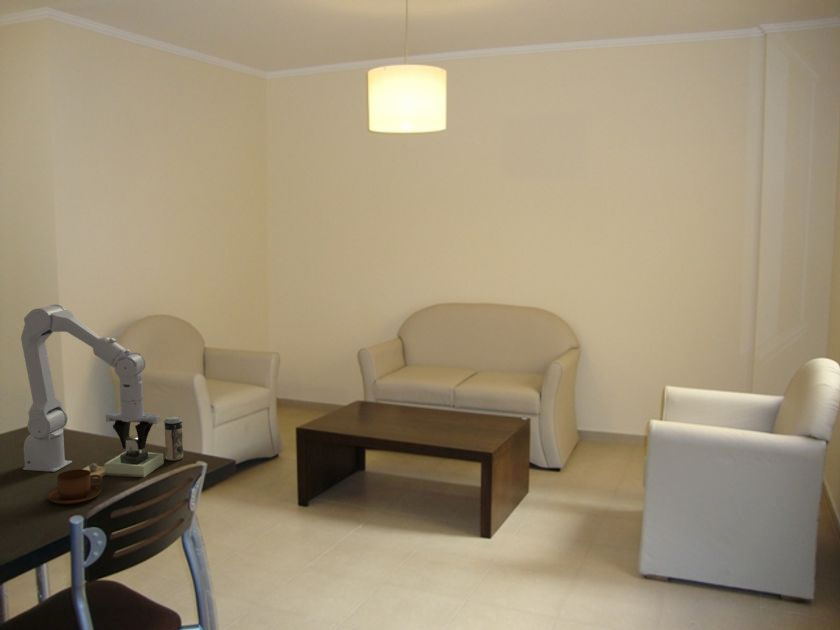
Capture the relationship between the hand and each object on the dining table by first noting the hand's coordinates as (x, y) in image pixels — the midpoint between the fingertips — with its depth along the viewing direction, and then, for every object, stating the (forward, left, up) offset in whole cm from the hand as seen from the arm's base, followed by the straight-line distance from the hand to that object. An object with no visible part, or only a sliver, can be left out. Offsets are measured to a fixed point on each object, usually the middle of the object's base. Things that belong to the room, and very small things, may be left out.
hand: (134, 448), depth 203 cm
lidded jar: (+6, +10, -6) cm, 13 cm away
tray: (0, 0, -6) cm, 6 cm away
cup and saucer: (-4, -22, -6) cm, 23 cm away
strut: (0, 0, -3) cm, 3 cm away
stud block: (-9, -5, -6) cm, 12 cm away
